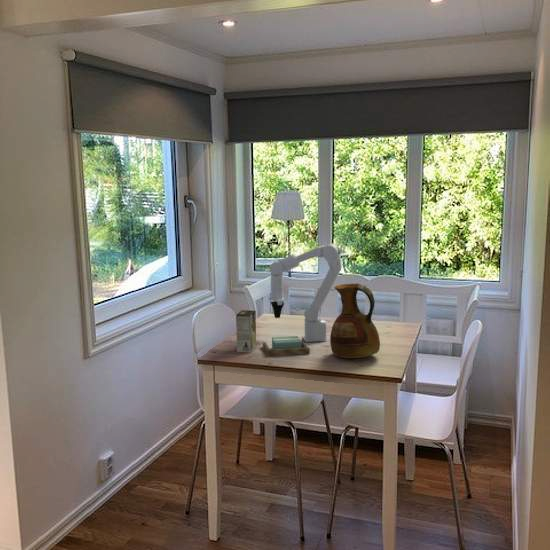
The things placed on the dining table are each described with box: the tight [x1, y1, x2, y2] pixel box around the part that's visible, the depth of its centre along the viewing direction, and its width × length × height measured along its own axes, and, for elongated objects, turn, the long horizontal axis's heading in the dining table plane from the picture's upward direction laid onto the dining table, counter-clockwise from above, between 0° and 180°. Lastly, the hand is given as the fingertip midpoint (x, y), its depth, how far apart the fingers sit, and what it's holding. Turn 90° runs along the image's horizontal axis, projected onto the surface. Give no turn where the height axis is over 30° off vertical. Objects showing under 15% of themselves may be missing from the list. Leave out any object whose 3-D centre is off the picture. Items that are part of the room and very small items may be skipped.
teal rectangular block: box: [271, 335, 302, 349], centre depth 250 cm, size 11×9×5 cm
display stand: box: [262, 339, 311, 357], centre depth 250 cm, size 17×14×2 cm
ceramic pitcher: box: [329, 283, 381, 359], centre depth 239 cm, size 20×20×30 cm
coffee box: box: [235, 309, 257, 354], centre depth 251 cm, size 9×6×16 cm
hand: (277, 317), depth 269 cm, fingers closed
